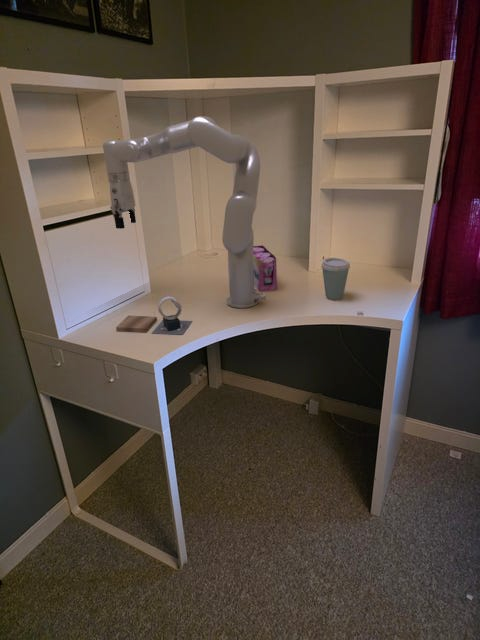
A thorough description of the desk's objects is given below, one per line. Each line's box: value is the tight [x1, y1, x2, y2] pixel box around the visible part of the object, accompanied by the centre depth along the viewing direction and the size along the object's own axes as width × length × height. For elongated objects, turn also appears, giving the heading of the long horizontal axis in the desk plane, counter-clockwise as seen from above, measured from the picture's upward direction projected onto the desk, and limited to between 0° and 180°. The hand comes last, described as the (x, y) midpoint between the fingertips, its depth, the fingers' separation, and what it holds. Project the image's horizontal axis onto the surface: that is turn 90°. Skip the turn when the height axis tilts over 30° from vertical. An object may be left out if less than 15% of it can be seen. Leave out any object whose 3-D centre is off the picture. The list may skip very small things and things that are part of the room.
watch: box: [157, 295, 183, 331], centre depth 145 cm, size 6×8×11 cm
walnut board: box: [115, 315, 158, 333], centre depth 150 cm, size 11×10×2 cm
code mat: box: [151, 319, 193, 336], centre depth 148 cm, size 11×11×1 cm
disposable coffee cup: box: [321, 257, 351, 301], centre depth 163 cm, size 11×11×15 cm
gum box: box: [253, 244, 278, 292], centre depth 183 cm, size 24×8×14 cm, turn 11°
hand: (126, 225), depth 160 cm, fingers open, 9 cm apart
